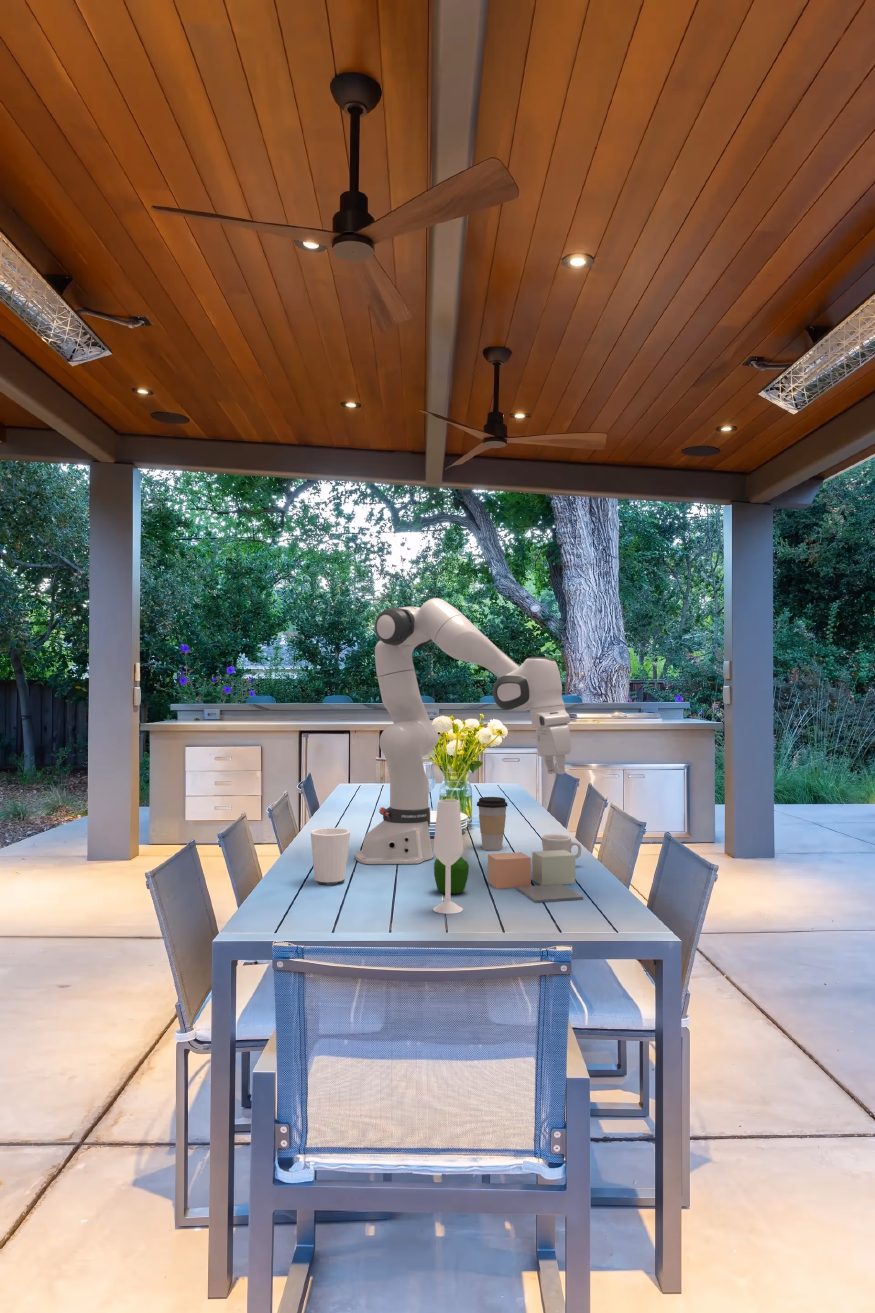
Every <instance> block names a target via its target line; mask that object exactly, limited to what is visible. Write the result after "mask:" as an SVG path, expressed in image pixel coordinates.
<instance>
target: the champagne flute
mask: <svg viewBox="0 0 875 1313" xmlns="http://www.w3.org/2000/svg"><path fill="white" fill-rule="evenodd" d="M436 808H437V809H436V810H437V811H436V818H435V829H434V840H433V848H432V851H433V855H434V856H435V857H436V859H438V860H439V861H440V862H441V863H442V864H444V865H445V866H446V875H445V893H444V894H445V897H444V898H445V899H444V901H443V902H440V903H439V904H438V905H435V906H434V907H433V908H432V910H433V911H434V912H436V913H439V914H446V915H448V914H449V915H450V914H451V915H452V914H458V913H461V912H463V910H464V909H463V908H462V907H461V906H460V905H458V904H457V903H454V902H453V901H452V900H451V894H452V893H451V865H453V864H454V863H455V862H456V861H457V860H458V859H459V858H460V857H462V855H463V853H464V842H463V831H462V830H463V829H462V820H461V819H462V818H461V807H460V800H457V799H440V800H438V801H437V807H436Z"/></svg>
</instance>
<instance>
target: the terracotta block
mask: <svg viewBox="0 0 875 1313" xmlns="http://www.w3.org/2000/svg"><path fill="white" fill-rule="evenodd" d="M487 883H488V884H489V885H491V886H492V887H494V888H495V889H496V890H498V889H500V890H501V889H502V890H503V889H515V888H516V887H525V886H532V857H530V855H527V854H526V853H524V852H518V851H517V852H503V853H488V854H487Z"/></svg>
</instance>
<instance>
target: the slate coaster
mask: <svg viewBox="0 0 875 1313" xmlns="http://www.w3.org/2000/svg"><path fill="white" fill-rule="evenodd" d="M516 891H518V892H519V893H520V894H522V895H524V896H525V895H526V896H527V897H526V896H525V897H526V898H528V899H529V900H531V901H532V900H533V903H535V904H539V903H549V902H550V903H553V902H566V901H578V900H581V901H582V900H584V896H583V895H581V894H579V893H578V892H576V891H575V890H573V889H571V888H570V887H568V886H567V885H565V884H555V885H540V884H539V885H531V886H525V887H516Z"/></svg>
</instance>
